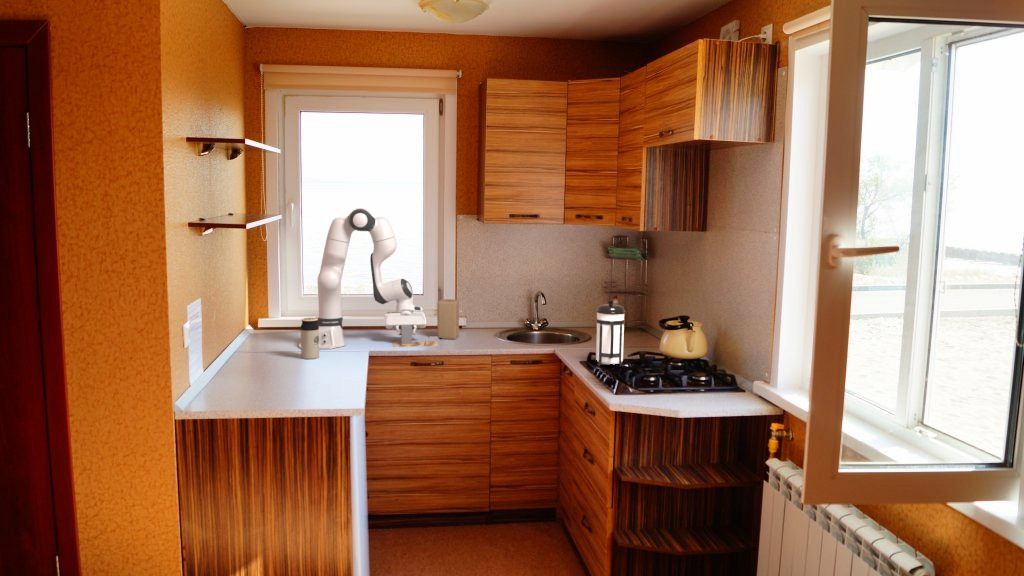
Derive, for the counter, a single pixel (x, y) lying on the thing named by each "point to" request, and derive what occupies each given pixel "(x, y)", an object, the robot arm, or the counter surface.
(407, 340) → the block
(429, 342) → the board
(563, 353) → the counter surface
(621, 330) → the coffee press
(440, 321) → the wooden block
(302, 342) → the travel mug
